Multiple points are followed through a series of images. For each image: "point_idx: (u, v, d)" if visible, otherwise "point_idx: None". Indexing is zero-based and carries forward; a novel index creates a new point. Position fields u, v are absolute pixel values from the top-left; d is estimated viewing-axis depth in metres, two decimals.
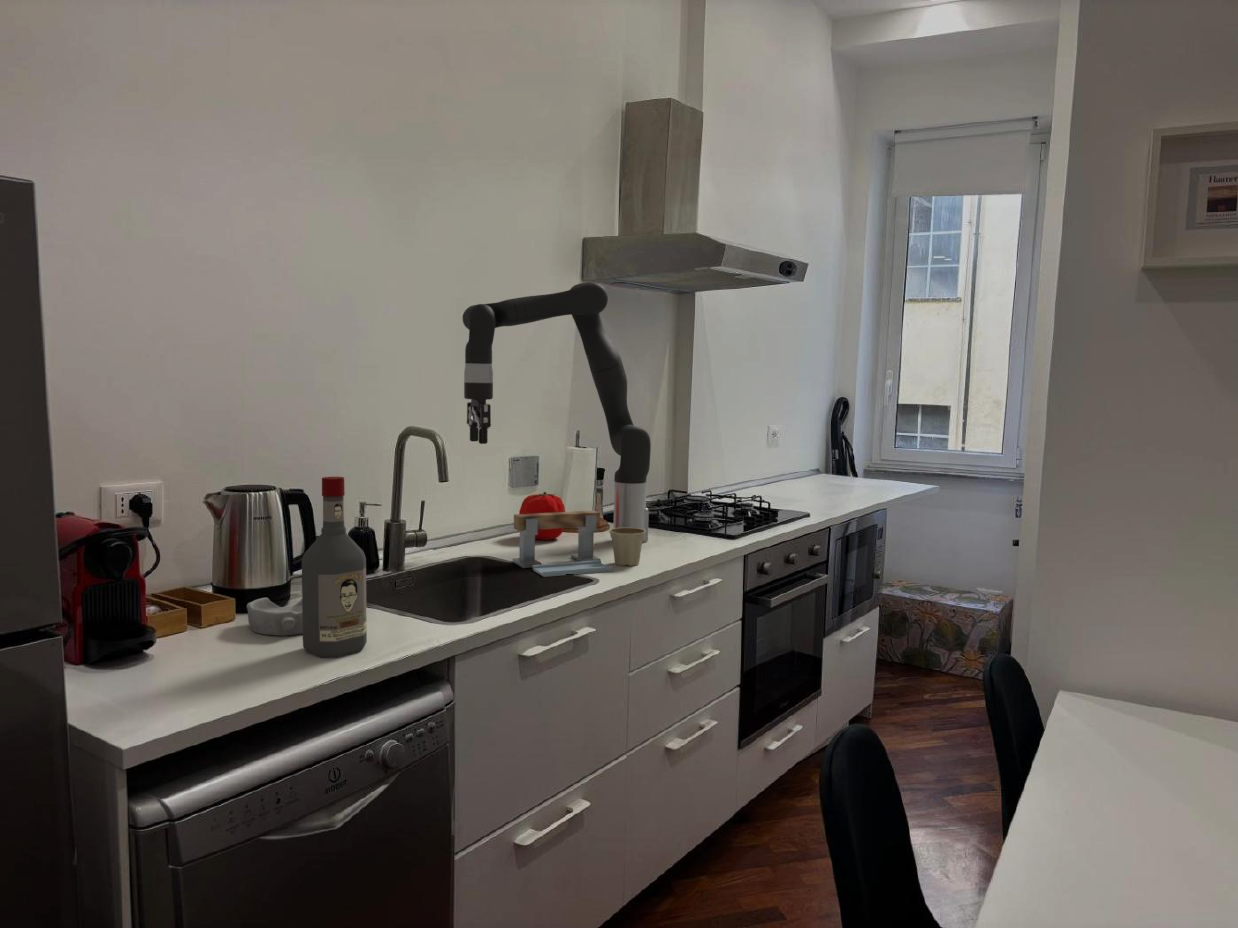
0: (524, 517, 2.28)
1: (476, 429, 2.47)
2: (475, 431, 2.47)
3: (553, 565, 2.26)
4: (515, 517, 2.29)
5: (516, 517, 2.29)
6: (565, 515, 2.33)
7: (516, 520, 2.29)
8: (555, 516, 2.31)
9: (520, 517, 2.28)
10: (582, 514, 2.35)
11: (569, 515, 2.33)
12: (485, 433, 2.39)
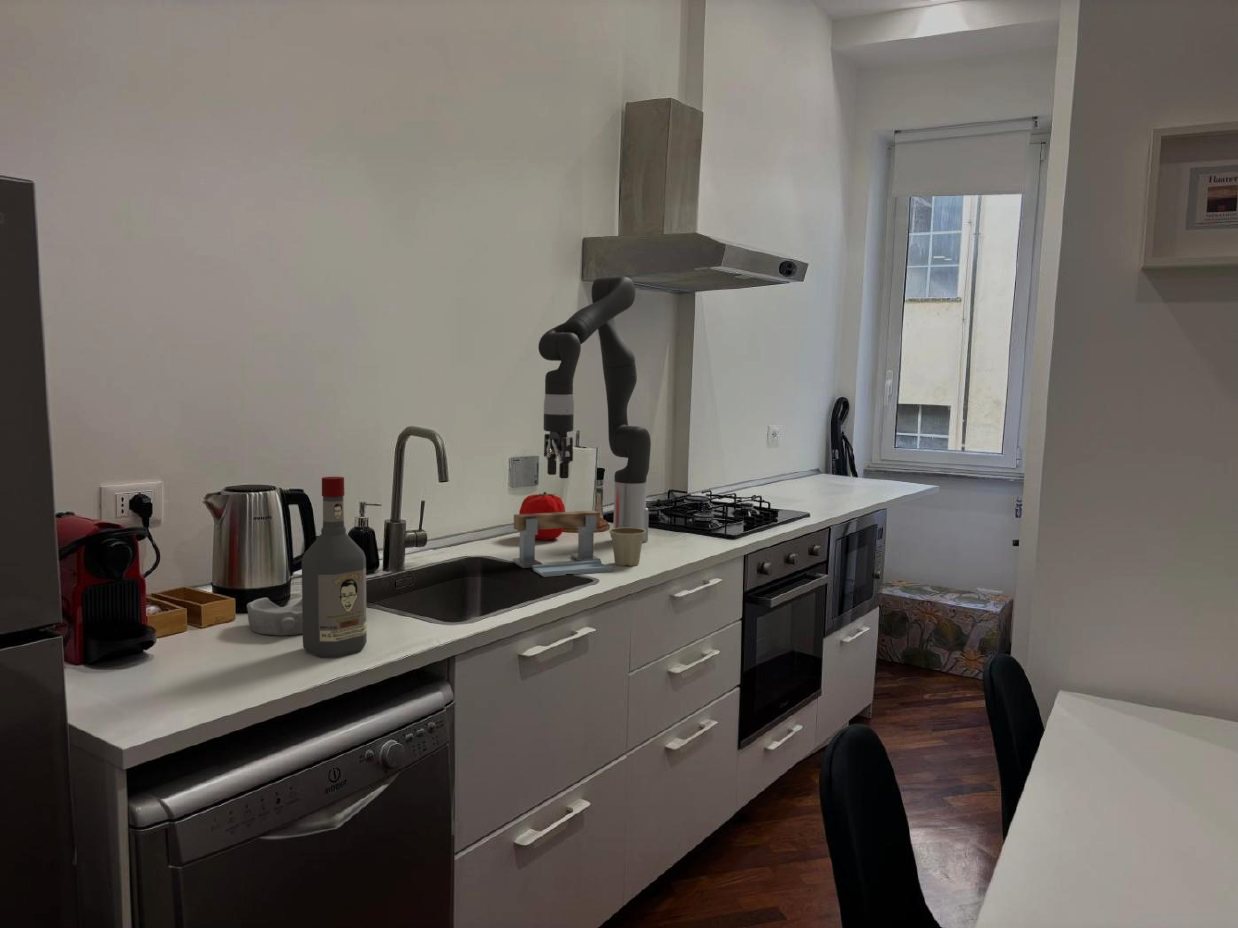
0: (524, 517, 2.28)
1: (554, 462, 2.36)
2: (553, 464, 2.36)
3: (553, 565, 2.26)
4: (515, 517, 2.29)
5: (516, 517, 2.29)
6: (565, 515, 2.33)
7: (516, 520, 2.29)
8: (555, 516, 2.31)
9: (520, 517, 2.28)
10: (582, 514, 2.35)
11: (569, 515, 2.33)
12: (566, 467, 2.28)
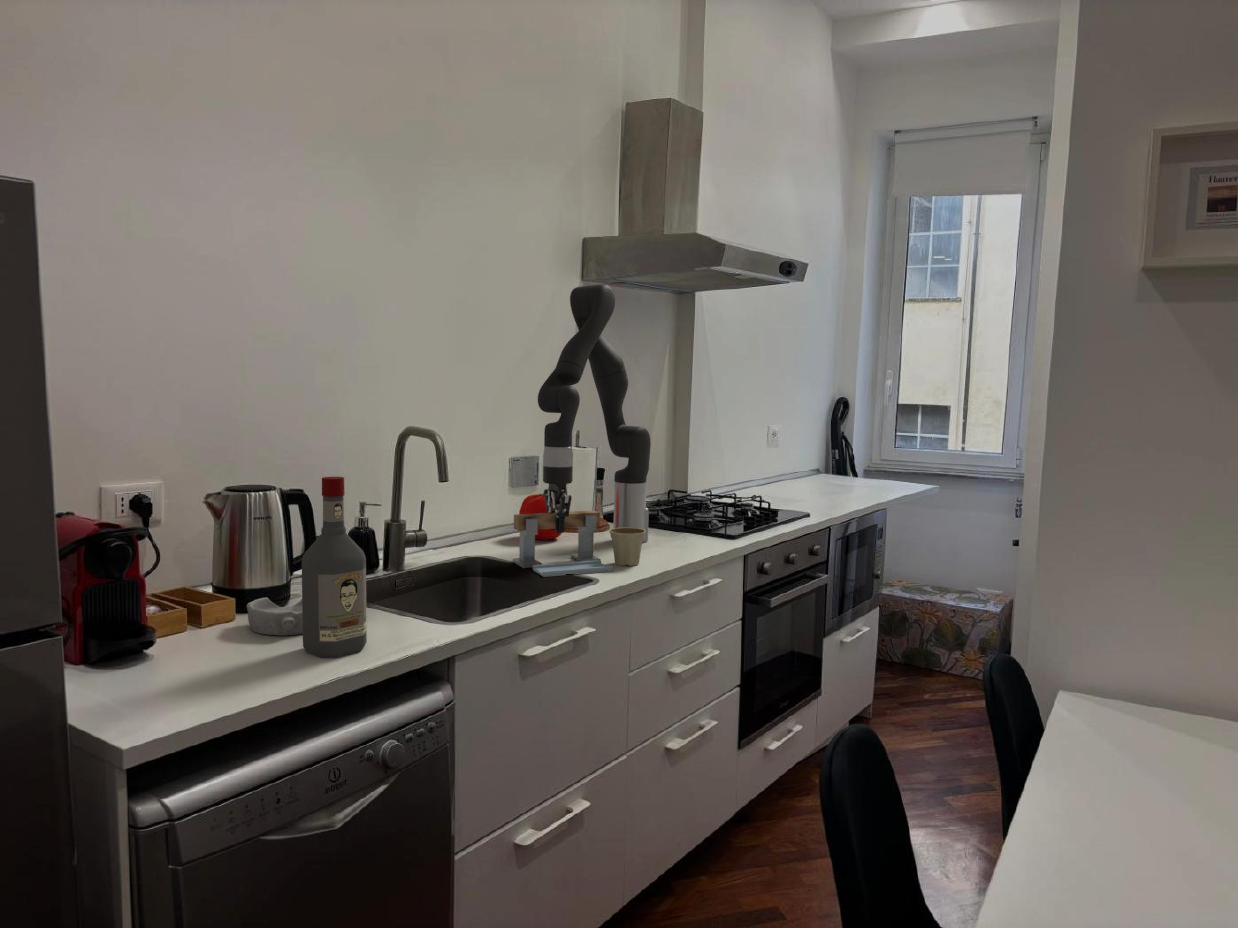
0: (524, 517, 2.28)
1: None
2: None
3: (553, 565, 2.26)
4: (515, 517, 2.29)
5: (516, 517, 2.29)
6: None
7: (516, 520, 2.29)
8: None
9: (520, 517, 2.28)
10: (582, 514, 2.35)
11: (569, 515, 2.33)
12: (562, 522, 2.31)
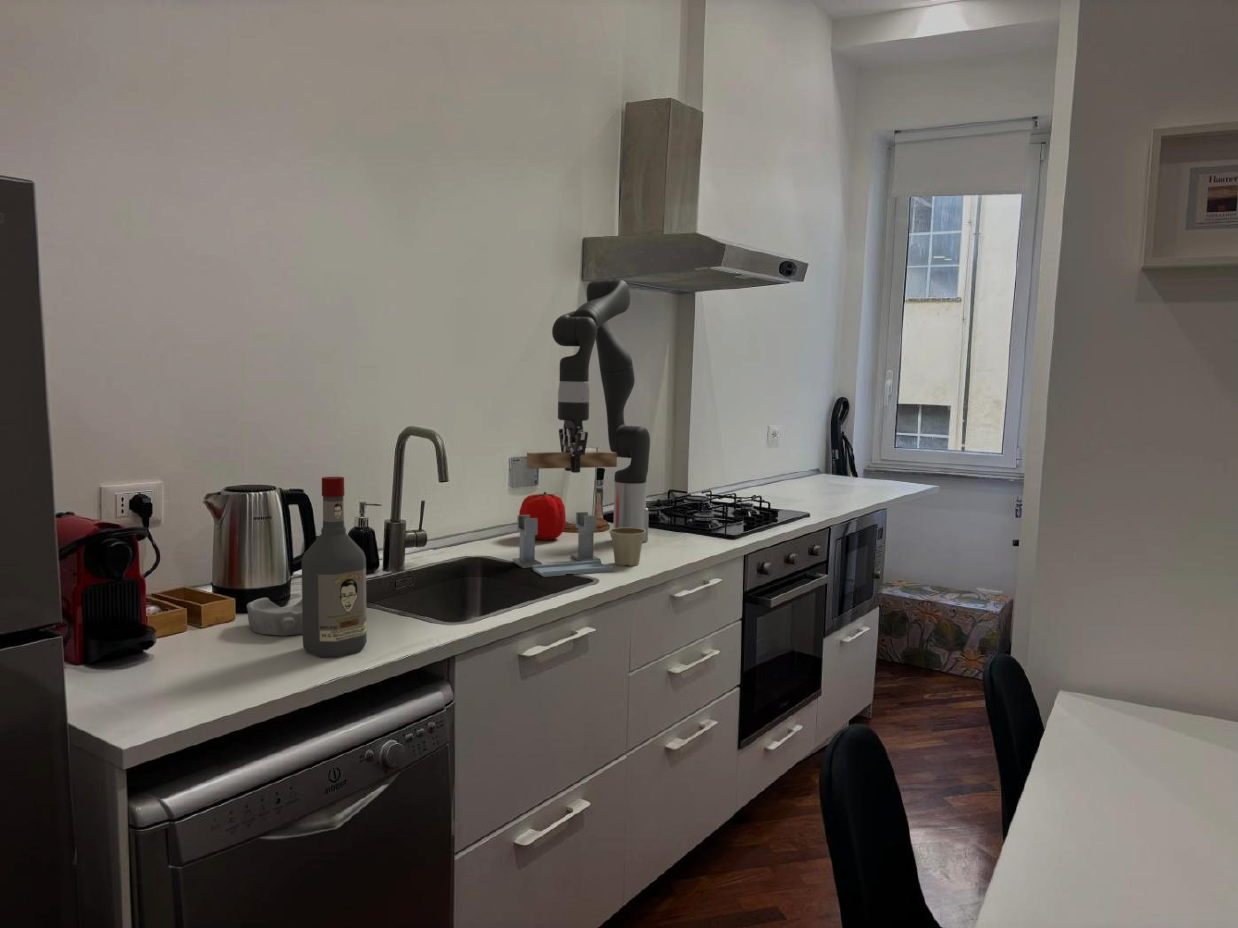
0: (538, 455, 2.17)
1: None
2: None
3: (553, 565, 2.26)
4: (528, 455, 2.18)
5: (529, 455, 2.17)
6: None
7: (529, 458, 2.17)
8: (570, 455, 2.20)
9: (533, 454, 2.16)
10: (598, 454, 2.23)
11: (585, 454, 2.22)
12: (578, 461, 2.20)
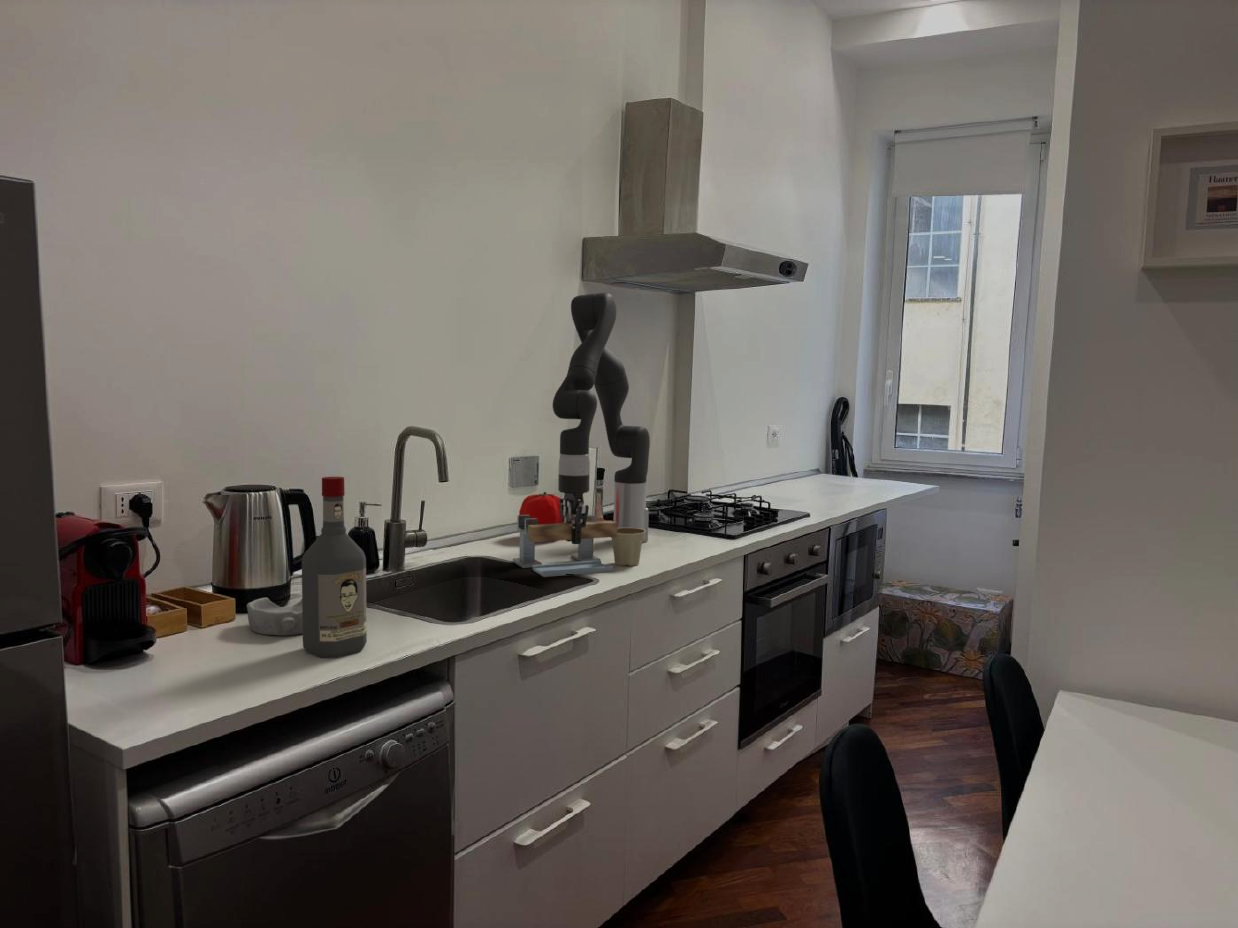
0: (539, 528, 2.18)
1: None
2: None
3: (553, 565, 2.26)
4: (529, 528, 2.19)
5: (530, 528, 2.19)
6: None
7: (530, 531, 2.19)
8: (571, 527, 2.22)
9: (535, 528, 2.18)
10: (599, 524, 2.25)
11: (585, 526, 2.23)
12: (579, 533, 2.21)
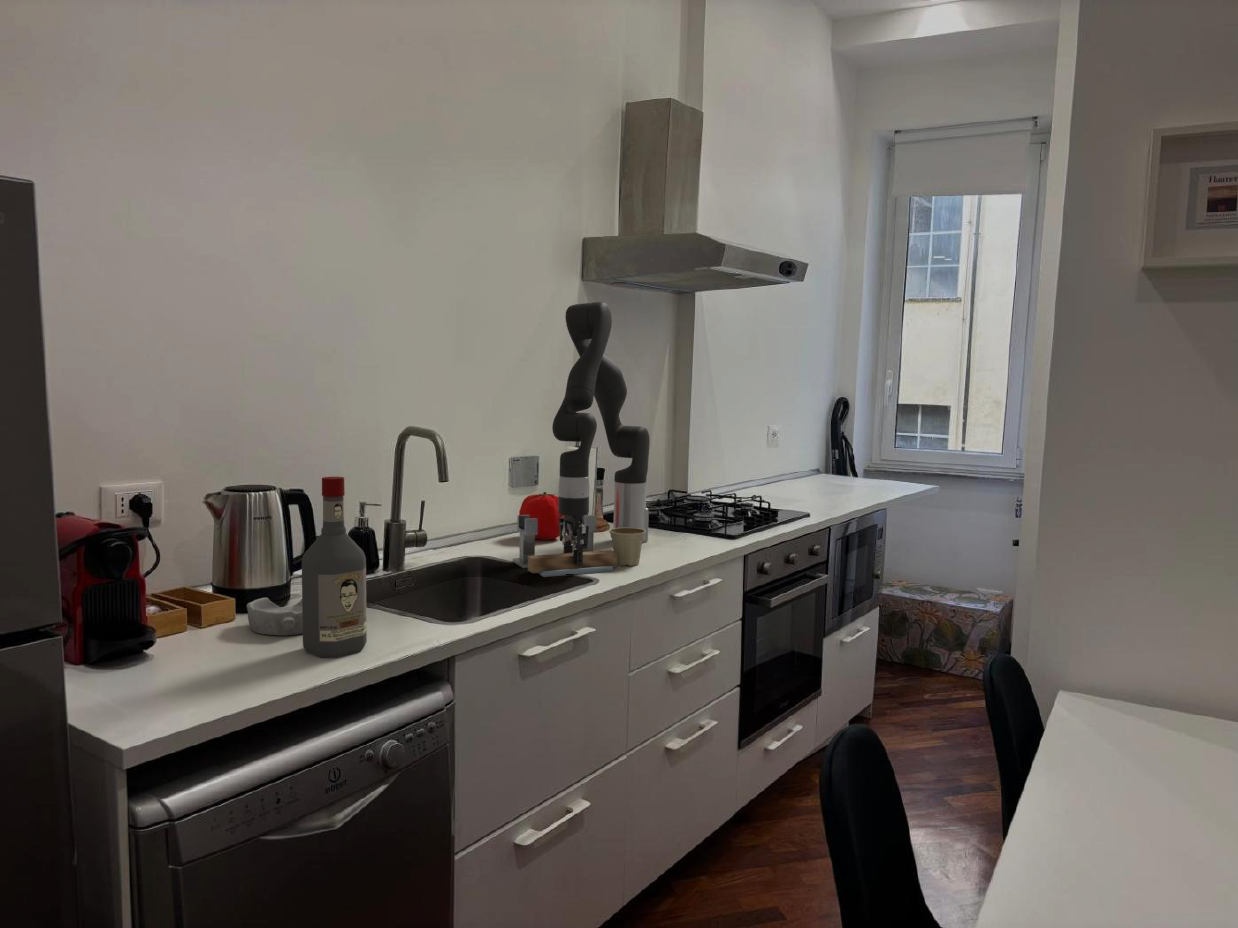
0: (539, 559, 2.19)
1: (570, 547, 2.27)
2: (569, 549, 2.27)
3: None
4: (529, 559, 2.20)
5: (530, 559, 2.19)
6: None
7: (530, 562, 2.20)
8: (571, 557, 2.22)
9: (535, 559, 2.19)
10: (599, 555, 2.25)
11: (585, 556, 2.24)
12: (580, 554, 2.21)
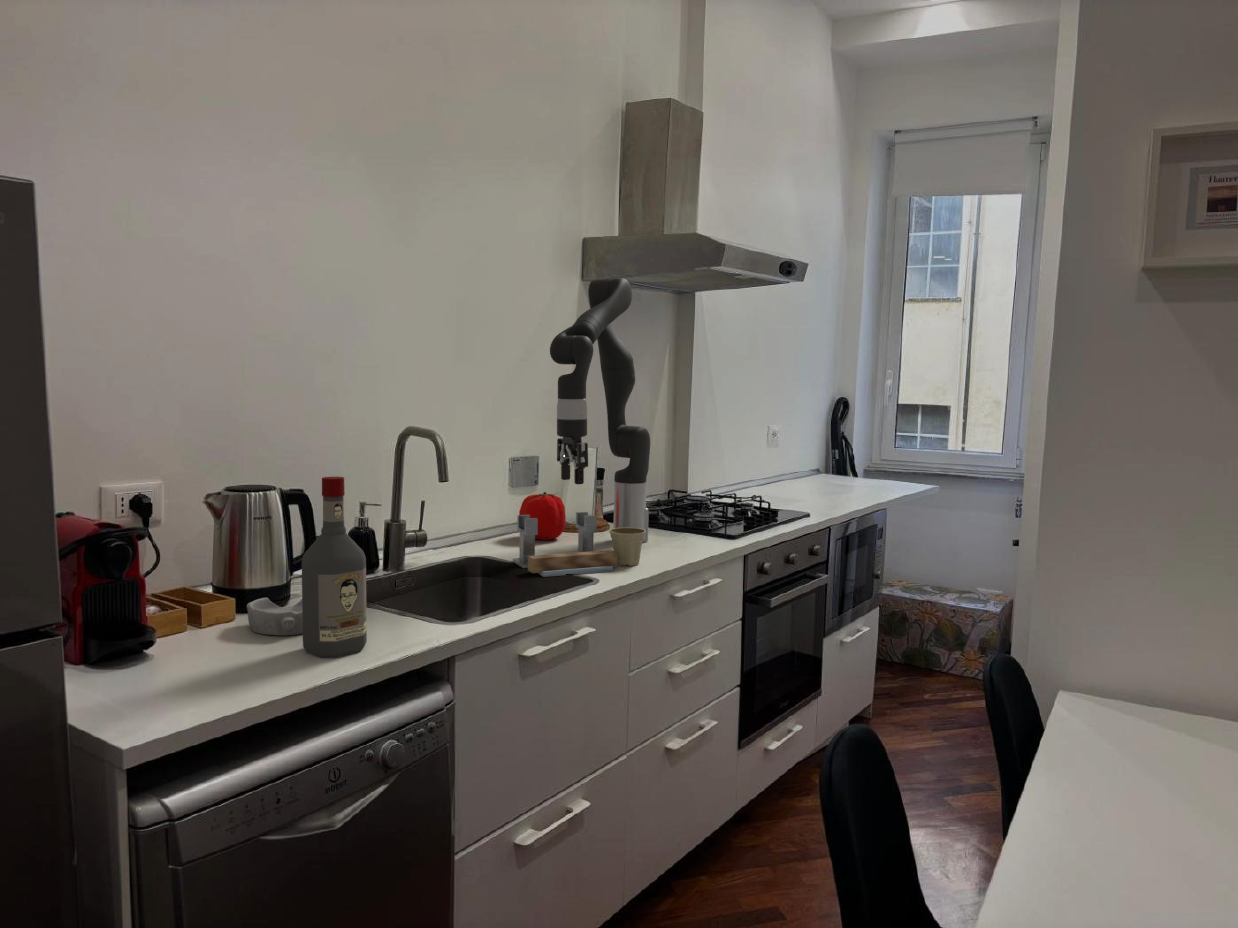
0: (539, 559, 2.19)
1: (568, 467, 2.32)
2: (567, 469, 2.32)
3: None
4: (529, 559, 2.20)
5: (530, 559, 2.19)
6: (581, 556, 2.24)
7: (530, 562, 2.20)
8: (571, 557, 2.22)
9: (535, 559, 2.19)
10: (599, 555, 2.25)
11: (585, 556, 2.24)
12: (582, 473, 2.24)
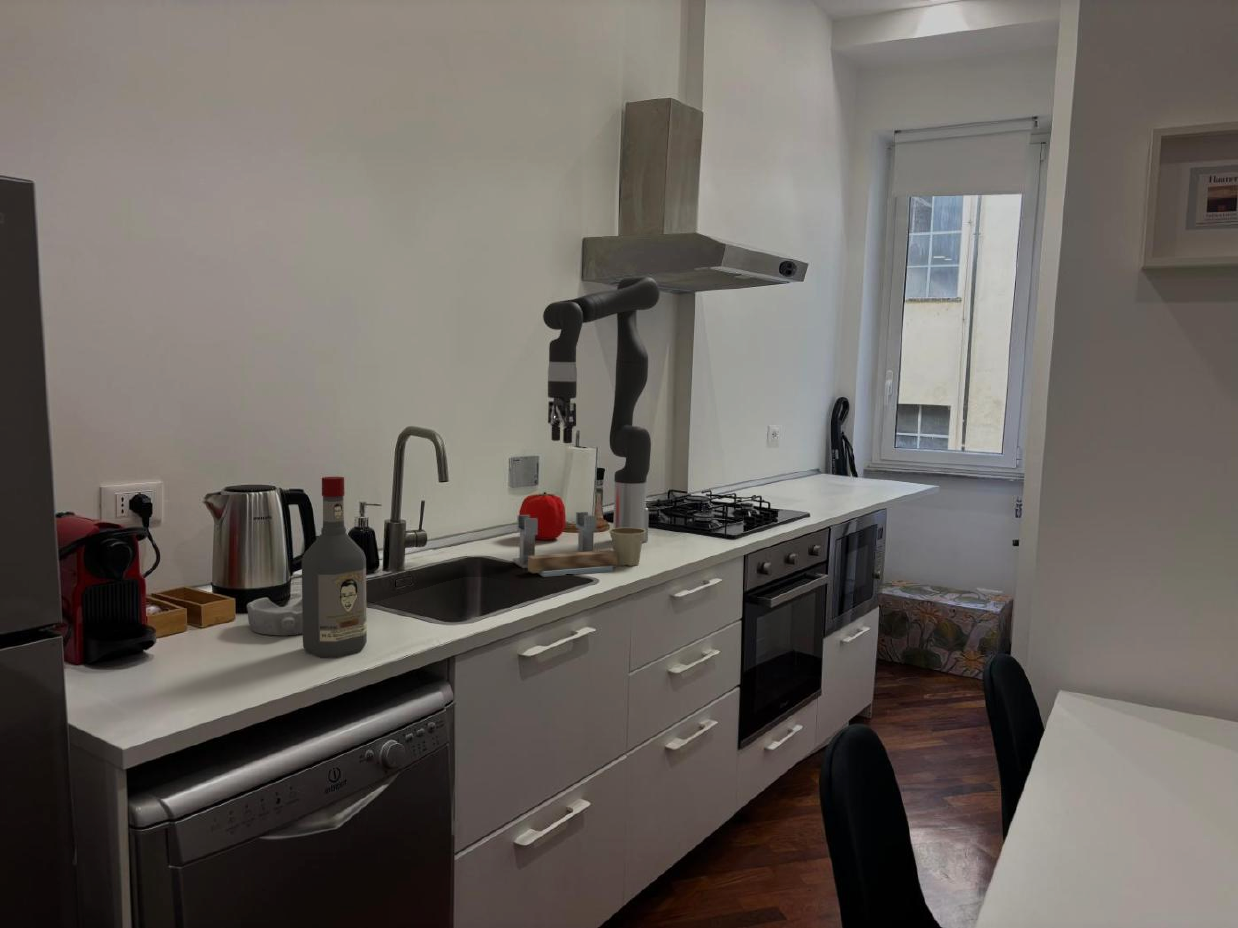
0: (539, 559, 2.19)
1: (558, 428, 2.44)
2: (557, 430, 2.44)
3: None
4: (529, 559, 2.20)
5: (530, 559, 2.19)
6: (581, 556, 2.24)
7: (530, 562, 2.20)
8: (571, 557, 2.22)
9: (535, 559, 2.19)
10: (599, 555, 2.25)
11: (585, 556, 2.24)
12: (570, 432, 2.36)
